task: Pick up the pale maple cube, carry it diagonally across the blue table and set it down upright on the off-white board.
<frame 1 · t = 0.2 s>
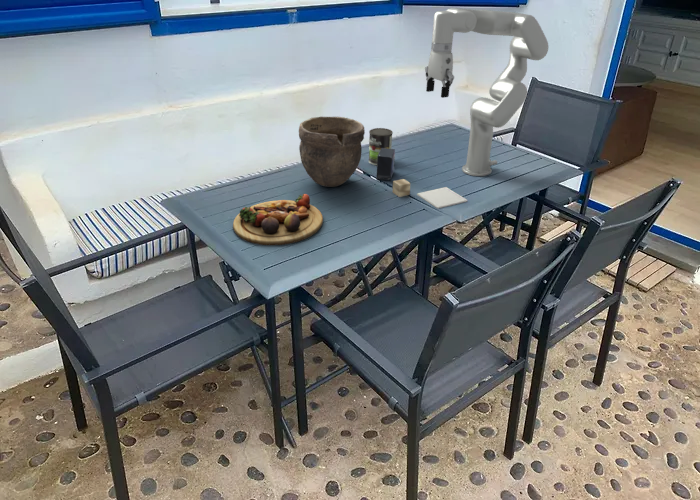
hand: (437, 94, 210), 36 cm above the table, tool pointing down, fingers open, 9 cm apart
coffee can: (379, 162, 248), on the table
off-white board: (441, 198, 214), on the table
wooden plate with food: (278, 225, 196), on the table
clay pot: (332, 183, 227), on the table
maple cube: (401, 193, 218), on the table
small box: (385, 175, 234), on the table
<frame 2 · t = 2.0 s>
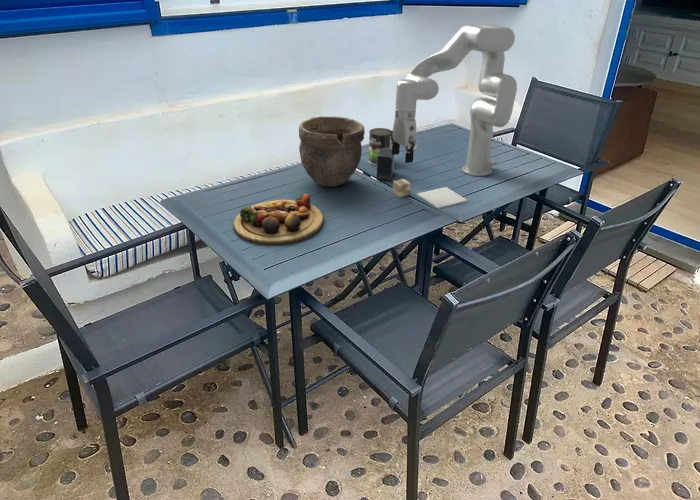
hand: (402, 158, 210), 15 cm above the table, tool pointing down, fingers open, 9 cm apart
nothing on the table moved.
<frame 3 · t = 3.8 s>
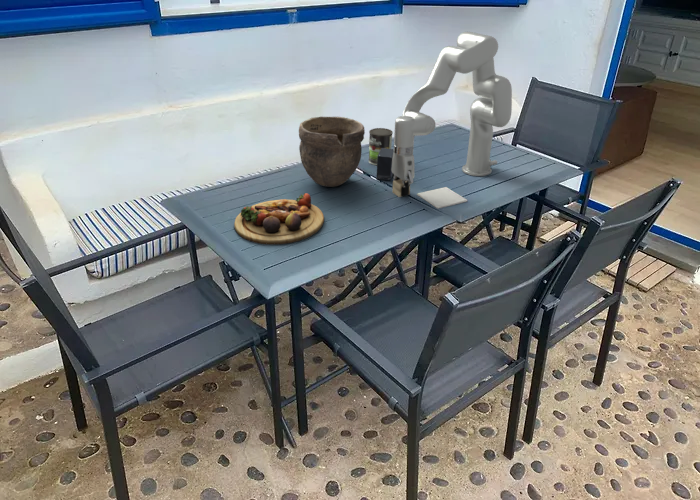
hand: (401, 192, 218), 0 cm above the table, tool pointing down, fingers closed on maple cube, 4 cm apart
maple cube: (400, 193, 218), on the table, touching gripper
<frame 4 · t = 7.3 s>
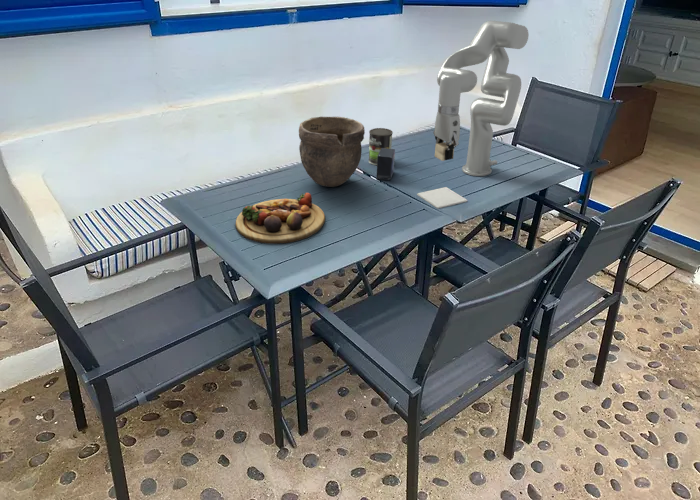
hand: (444, 156, 206), 17 cm above the table, tool pointing down, fingers closed on maple cube, 4 cm apart
maple cube: (443, 157, 206), point 17 cm above the table, touching gripper
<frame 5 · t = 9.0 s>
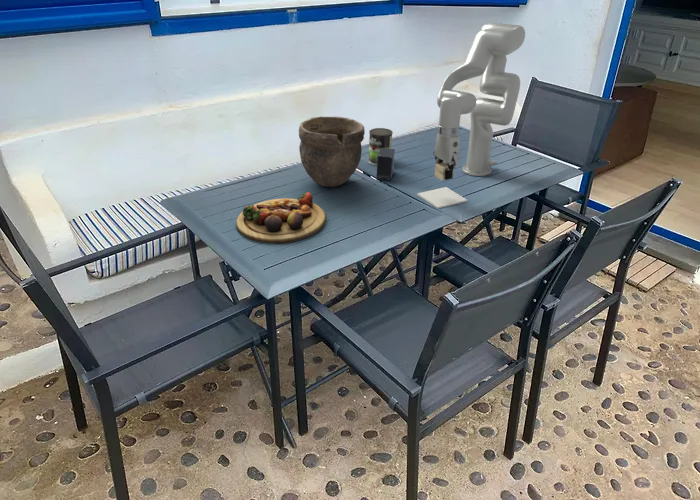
hand: (443, 176, 209), 9 cm above the table, tool pointing down, fingers closed on maple cube, 4 cm apart
maple cube: (443, 177, 210), point 9 cm above the table, touching gripper
when the fingers open (3 cm above the table, at t = 10.6 s): maple cube drops 1 cm, resting on off-white board.
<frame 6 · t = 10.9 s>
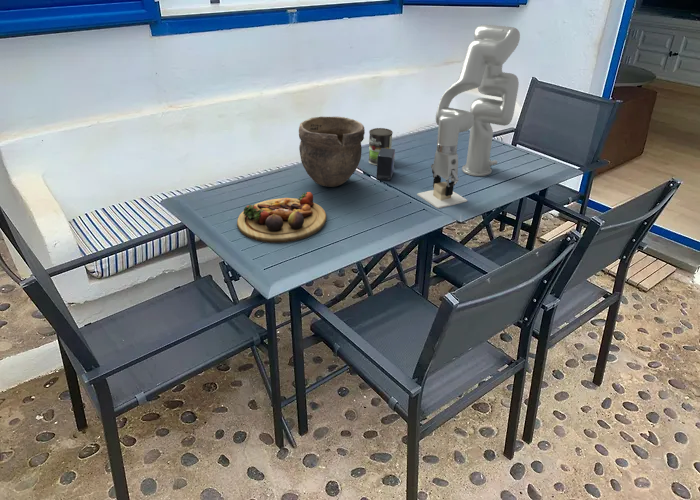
hand: (442, 191, 213), 3 cm above the table, tool pointing down, fingers open, 7 cm apart
maple cube: (442, 196, 214), point 1 cm above the table, touching off-white board
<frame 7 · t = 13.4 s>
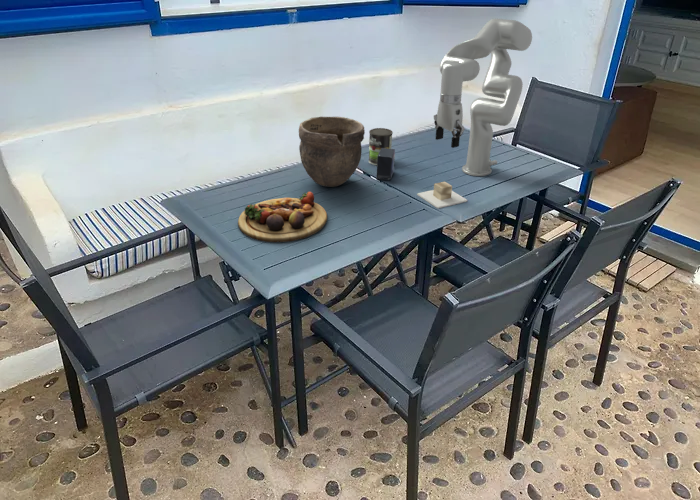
hand: (446, 142, 207), 21 cm above the table, tool pointing down, fingers open, 9 cm apart
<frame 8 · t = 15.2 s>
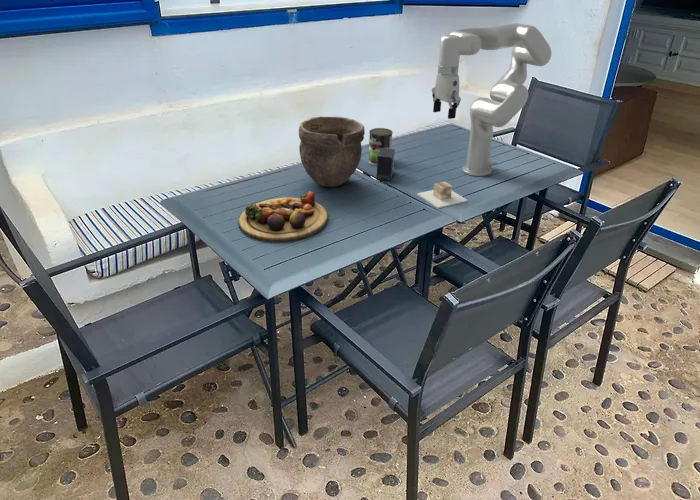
hand: (444, 115, 214), 28 cm above the table, tool pointing down, fingers open, 9 cm apart
at the end: maple cube inside the target area on the off-white board (0.0 cm from its centre), point 0.6 cm above the off-white board's base; maple cube tilted 0°; the gripper is holding nothing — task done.
